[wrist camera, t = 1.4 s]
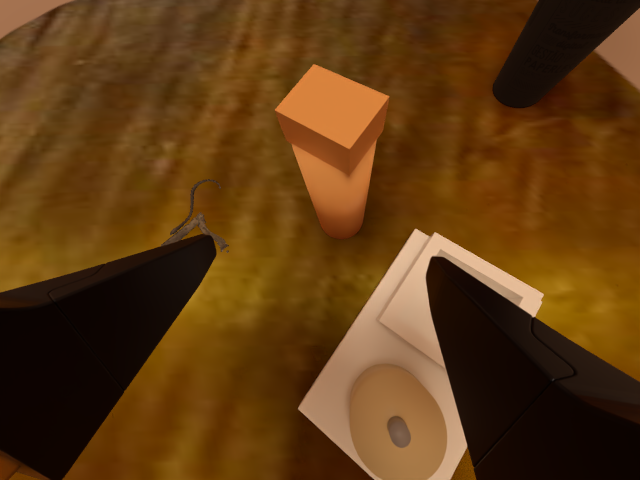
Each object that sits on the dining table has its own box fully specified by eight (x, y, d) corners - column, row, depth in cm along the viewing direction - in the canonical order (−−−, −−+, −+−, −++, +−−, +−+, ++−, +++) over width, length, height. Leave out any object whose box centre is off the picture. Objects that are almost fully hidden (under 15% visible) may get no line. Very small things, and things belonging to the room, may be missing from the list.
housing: (420, 511, 17) (450, 599, 12) (300, 402, 19) (284, 436, 14) (530, 302, 19) (593, 301, 14) (412, 232, 22) (430, 211, 17)
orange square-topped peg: (347, 247, 23) (343, 164, 9) (311, 224, 24) (261, 119, 10) (371, 212, 23) (402, 86, 10) (335, 191, 24) (319, 52, 11)
